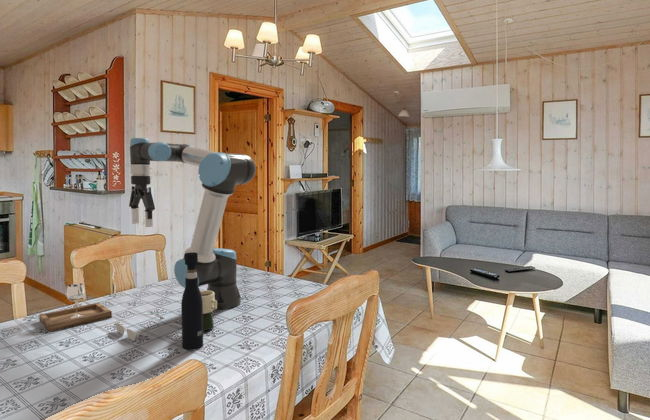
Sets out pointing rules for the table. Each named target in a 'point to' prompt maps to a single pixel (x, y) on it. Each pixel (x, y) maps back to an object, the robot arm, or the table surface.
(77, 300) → the wineglass
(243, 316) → the table surface
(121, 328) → the eyeglasses
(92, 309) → the walnut tray
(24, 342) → the table surface
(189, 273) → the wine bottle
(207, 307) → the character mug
